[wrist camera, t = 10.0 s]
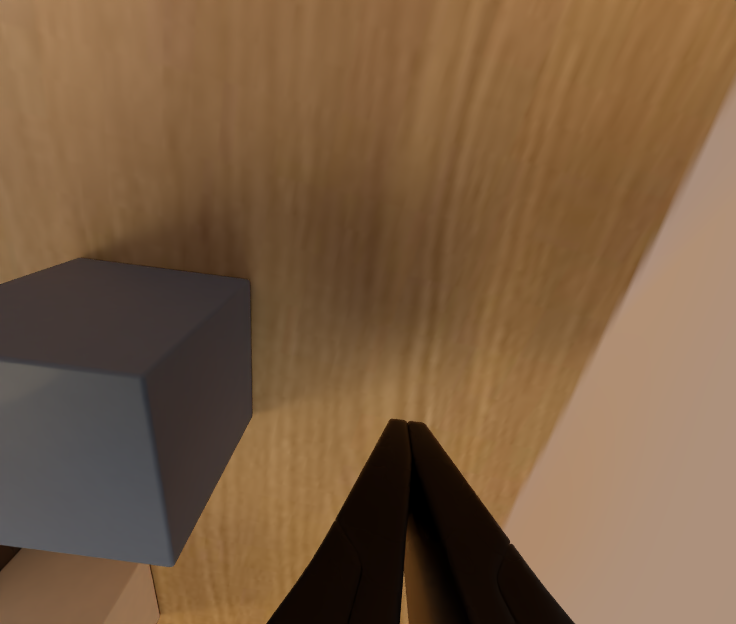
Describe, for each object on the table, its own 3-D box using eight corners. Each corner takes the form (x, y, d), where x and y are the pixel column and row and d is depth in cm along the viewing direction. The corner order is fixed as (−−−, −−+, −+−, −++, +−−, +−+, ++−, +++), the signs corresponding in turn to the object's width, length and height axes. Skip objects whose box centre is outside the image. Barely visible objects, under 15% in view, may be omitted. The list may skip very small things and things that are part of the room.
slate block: (251, 278, 10) (143, 376, 6) (253, 416, 12) (173, 569, 8) (78, 256, 10) (-164, 336, 6) (108, 398, 12) (-55, 539, 8)
